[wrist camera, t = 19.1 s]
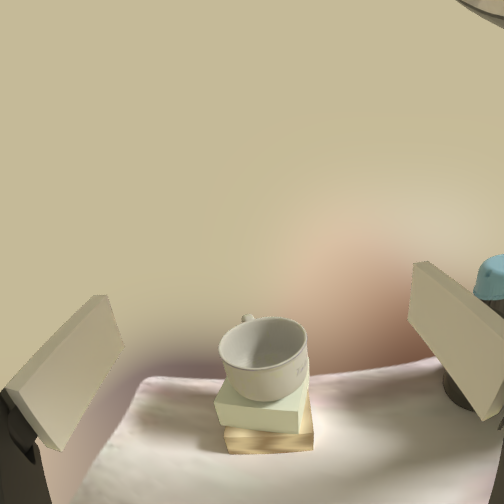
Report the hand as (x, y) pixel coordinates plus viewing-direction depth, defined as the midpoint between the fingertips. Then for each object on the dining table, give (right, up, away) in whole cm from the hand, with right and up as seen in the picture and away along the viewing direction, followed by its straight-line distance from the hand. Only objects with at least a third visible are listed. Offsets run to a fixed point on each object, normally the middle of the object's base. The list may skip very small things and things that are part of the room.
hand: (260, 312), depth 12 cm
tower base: (+3, -25, +29) cm, 38 cm away
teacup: (+2, -15, +27) cm, 31 cm away
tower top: (+2, -20, +28) cm, 35 cm away
